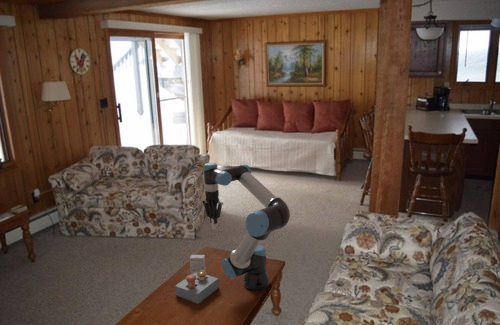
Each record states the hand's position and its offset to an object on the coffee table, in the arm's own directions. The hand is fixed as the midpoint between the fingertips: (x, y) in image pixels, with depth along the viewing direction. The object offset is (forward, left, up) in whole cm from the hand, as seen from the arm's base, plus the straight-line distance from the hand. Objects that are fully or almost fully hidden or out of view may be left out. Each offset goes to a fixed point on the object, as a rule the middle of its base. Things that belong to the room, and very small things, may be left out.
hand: (214, 228), depth 238 cm
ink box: (+11, +3, -31) cm, 33 cm away
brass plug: (-1, +14, -30) cm, 33 cm away
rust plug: (-1, +23, -28) cm, 37 cm away
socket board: (-1, +18, -31) cm, 36 cm away
